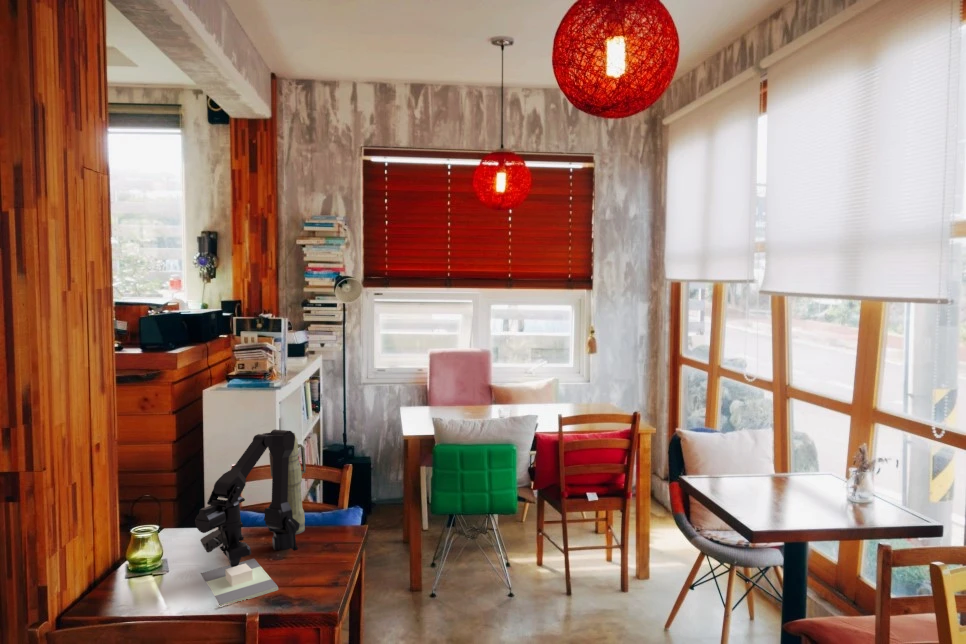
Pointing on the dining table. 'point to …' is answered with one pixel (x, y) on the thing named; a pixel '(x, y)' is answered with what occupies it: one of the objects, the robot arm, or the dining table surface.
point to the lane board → (240, 585)
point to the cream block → (239, 574)
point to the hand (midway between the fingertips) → (234, 570)
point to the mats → (242, 591)
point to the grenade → (295, 484)
